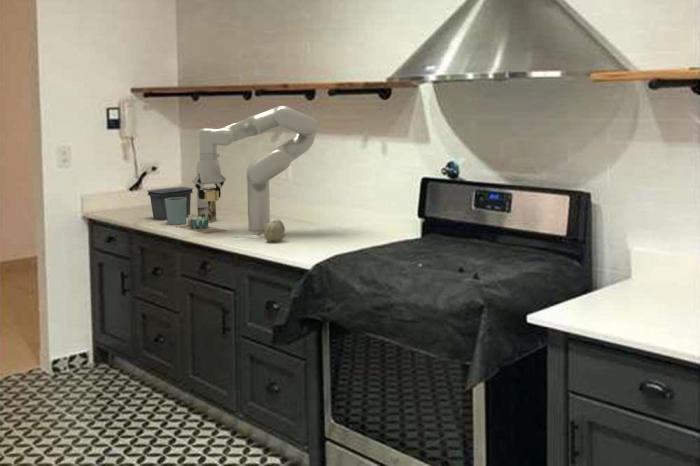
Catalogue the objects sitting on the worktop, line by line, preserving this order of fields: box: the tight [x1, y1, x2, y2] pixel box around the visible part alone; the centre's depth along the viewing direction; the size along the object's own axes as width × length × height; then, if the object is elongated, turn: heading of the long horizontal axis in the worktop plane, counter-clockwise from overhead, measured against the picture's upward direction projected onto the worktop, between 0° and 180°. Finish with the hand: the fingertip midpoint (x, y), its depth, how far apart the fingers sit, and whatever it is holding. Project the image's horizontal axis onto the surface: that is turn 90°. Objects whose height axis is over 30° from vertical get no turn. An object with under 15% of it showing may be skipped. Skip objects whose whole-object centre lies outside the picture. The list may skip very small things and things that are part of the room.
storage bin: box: [146, 186, 194, 221], centre depth 406 cm, size 21×16×14 cm
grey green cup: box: [165, 197, 187, 226], centre depth 386 cm, size 10×10×12 cm
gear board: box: [174, 214, 227, 234], centre depth 362 cm, size 26×11×6 cm, turn 41°
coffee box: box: [196, 186, 217, 224], centre depth 392 cm, size 9×6×16 cm
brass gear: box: [201, 190, 220, 202], centre depth 353 cm, size 8×8×4 cm
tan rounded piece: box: [261, 219, 286, 243], centre depth 336 cm, size 9×8×10 cm
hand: (209, 197), depth 353 cm, fingers closed on brass gear, 7 cm apart
